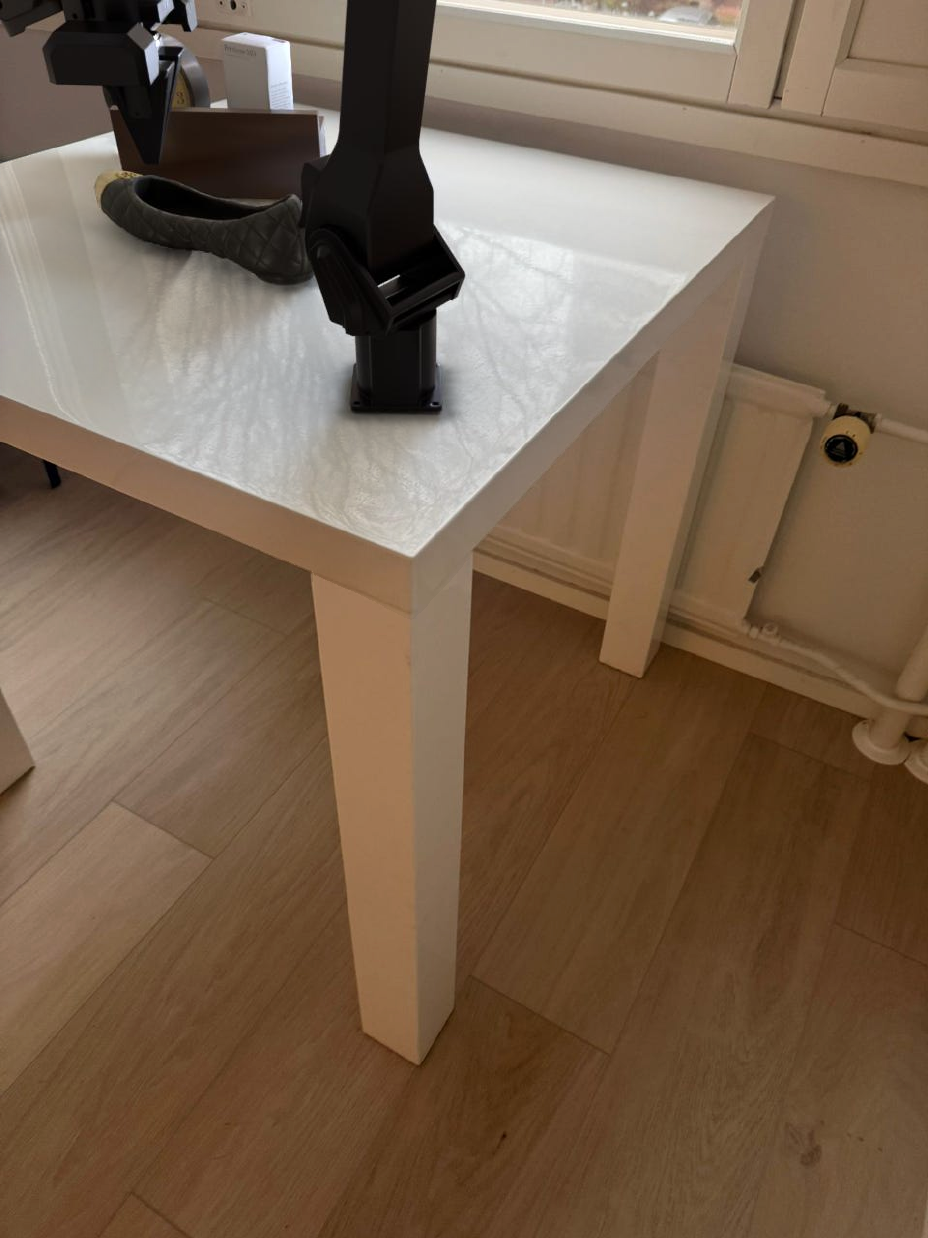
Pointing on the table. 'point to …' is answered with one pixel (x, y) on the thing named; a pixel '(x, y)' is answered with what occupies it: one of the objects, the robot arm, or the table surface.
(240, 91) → the cosmetic box
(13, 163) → the table surface
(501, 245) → the table surface
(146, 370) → the table surface
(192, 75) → the alarm clock
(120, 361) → the table surface
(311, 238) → the robot arm
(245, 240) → the ballet flat
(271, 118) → the brown wooden box
